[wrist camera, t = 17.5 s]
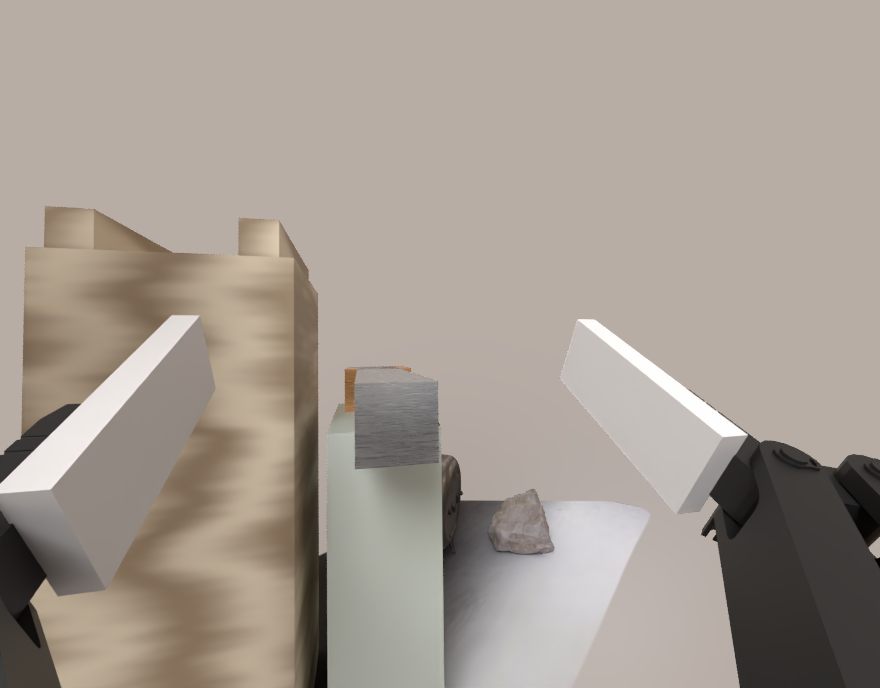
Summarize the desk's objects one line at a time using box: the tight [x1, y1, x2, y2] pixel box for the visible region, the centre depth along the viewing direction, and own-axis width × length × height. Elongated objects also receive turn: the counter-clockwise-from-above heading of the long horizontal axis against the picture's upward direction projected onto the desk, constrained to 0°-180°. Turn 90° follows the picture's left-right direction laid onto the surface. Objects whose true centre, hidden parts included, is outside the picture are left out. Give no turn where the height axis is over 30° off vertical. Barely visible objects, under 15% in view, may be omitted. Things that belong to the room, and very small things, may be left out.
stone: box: [488, 489, 554, 554], centre depth 49 cm, size 10×8×6 cm
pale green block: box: [327, 404, 444, 688], centre depth 29 cm, size 7×14×20 cm, turn 12°
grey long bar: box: [345, 366, 439, 469], centre depth 26 cm, size 6×22×4 cm, turn 12°
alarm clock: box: [438, 422, 463, 553], centre depth 47 cm, size 11×5×16 cm, turn 166°
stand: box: [22, 206, 319, 688], centre depth 24 cm, size 12×12×32 cm
